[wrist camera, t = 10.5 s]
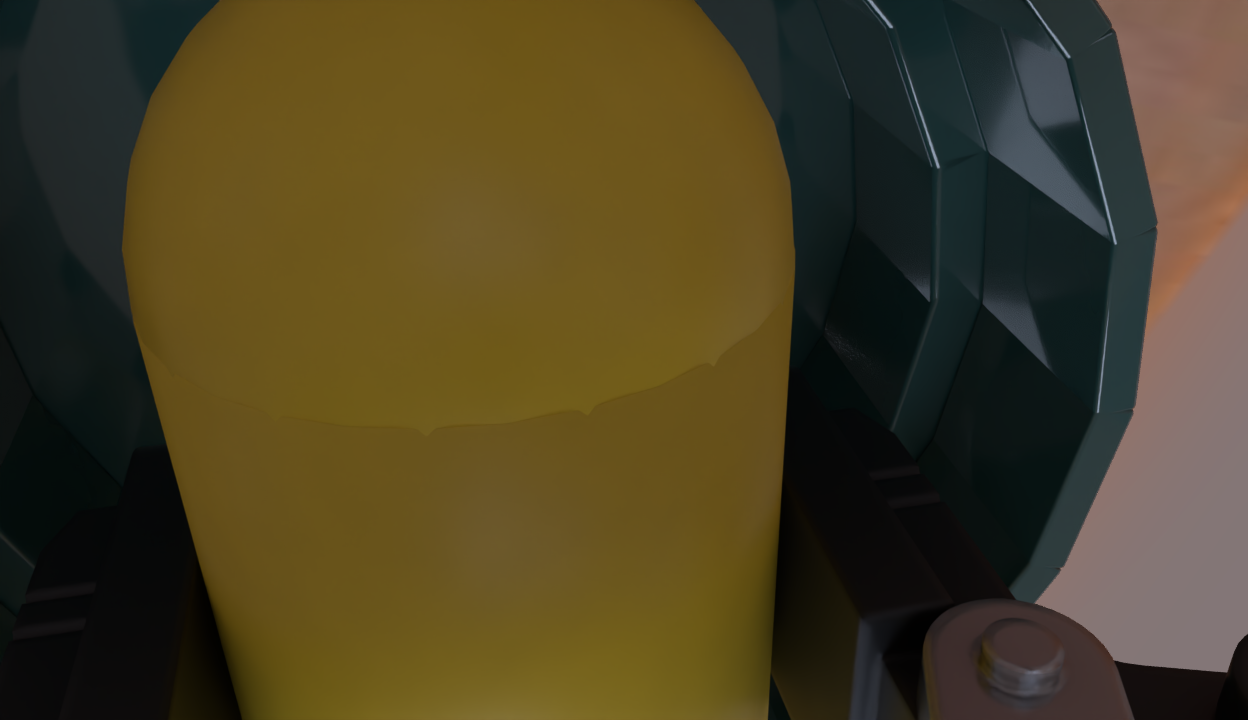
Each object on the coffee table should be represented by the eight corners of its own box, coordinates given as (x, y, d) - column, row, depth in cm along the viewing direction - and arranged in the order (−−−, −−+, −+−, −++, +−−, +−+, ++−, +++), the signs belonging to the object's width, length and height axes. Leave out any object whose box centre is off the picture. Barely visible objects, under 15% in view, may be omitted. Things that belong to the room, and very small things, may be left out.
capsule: (413, -160, 10) (-138, -61, 7) (935, -122, 8) (491, 58, 4) (505, 713, 15) (229, 1003, 12) (825, 883, 13) (592, 1294, 10)
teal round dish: (73, -662, 11) (-155, -948, 6) (1096, -6, 17) (1423, 132, 12) (-229, 467, 16) (-494, 827, 11) (633, 685, 22) (720, 991, 17)
